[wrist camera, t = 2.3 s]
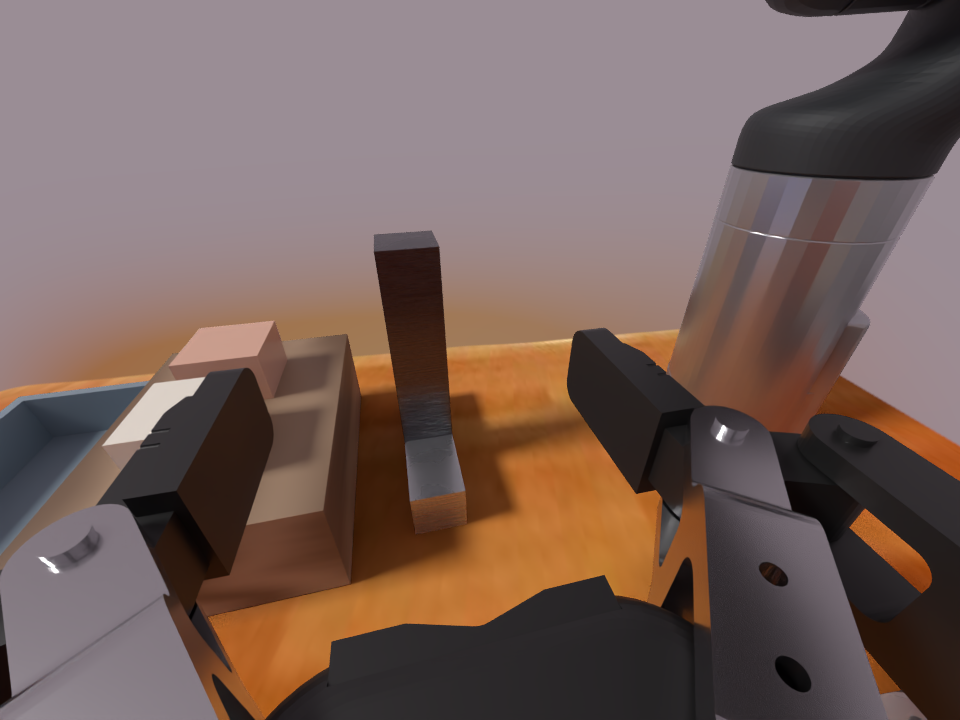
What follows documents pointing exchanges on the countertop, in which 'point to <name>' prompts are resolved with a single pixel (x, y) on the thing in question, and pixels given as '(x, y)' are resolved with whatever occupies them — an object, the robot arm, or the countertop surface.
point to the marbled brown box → (268, 484)
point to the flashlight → (900, 707)
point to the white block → (146, 417)
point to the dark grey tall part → (421, 375)
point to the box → (50, 445)
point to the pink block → (234, 354)
